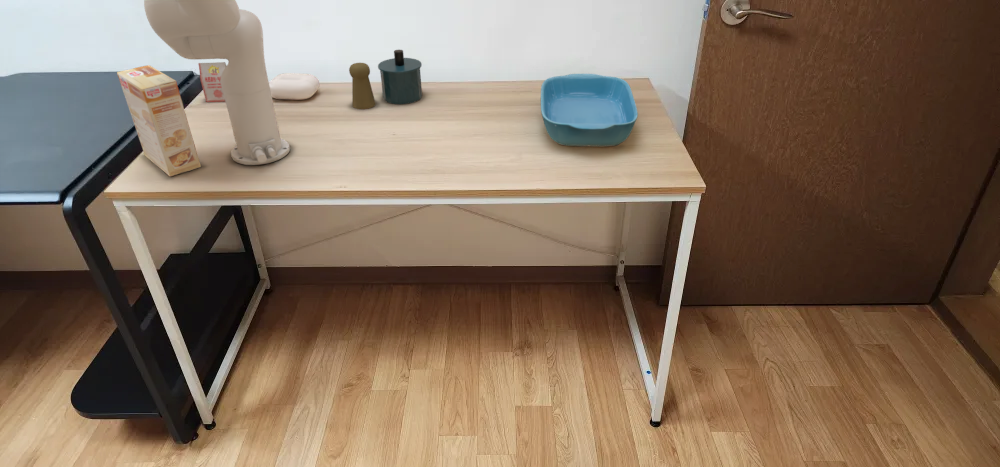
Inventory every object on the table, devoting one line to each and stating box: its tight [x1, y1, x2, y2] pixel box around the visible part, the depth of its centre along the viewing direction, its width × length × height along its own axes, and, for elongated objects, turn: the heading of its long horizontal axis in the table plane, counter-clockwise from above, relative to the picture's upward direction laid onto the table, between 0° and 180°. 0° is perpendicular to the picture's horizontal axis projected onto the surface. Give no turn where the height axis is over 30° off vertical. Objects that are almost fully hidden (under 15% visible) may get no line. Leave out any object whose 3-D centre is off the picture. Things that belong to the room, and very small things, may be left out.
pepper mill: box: [348, 62, 377, 110], centre depth 166 cm, size 6×6×11 cm
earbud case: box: [269, 72, 321, 101], centre depth 174 cm, size 10×13×5 cm
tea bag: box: [197, 61, 227, 103], centre depth 171 cm, size 4×7×10 cm, turn 95°
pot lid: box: [377, 49, 422, 74], centre depth 168 cm, size 11×11×5 cm
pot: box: [379, 68, 423, 105], centre depth 172 cm, size 10×10×8 cm
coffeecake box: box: [116, 64, 202, 177], centre depth 137 cm, size 15×7×20 cm, turn 44°
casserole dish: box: [540, 73, 639, 148], centre depth 156 cm, size 37×22×7 cm, turn 177°
